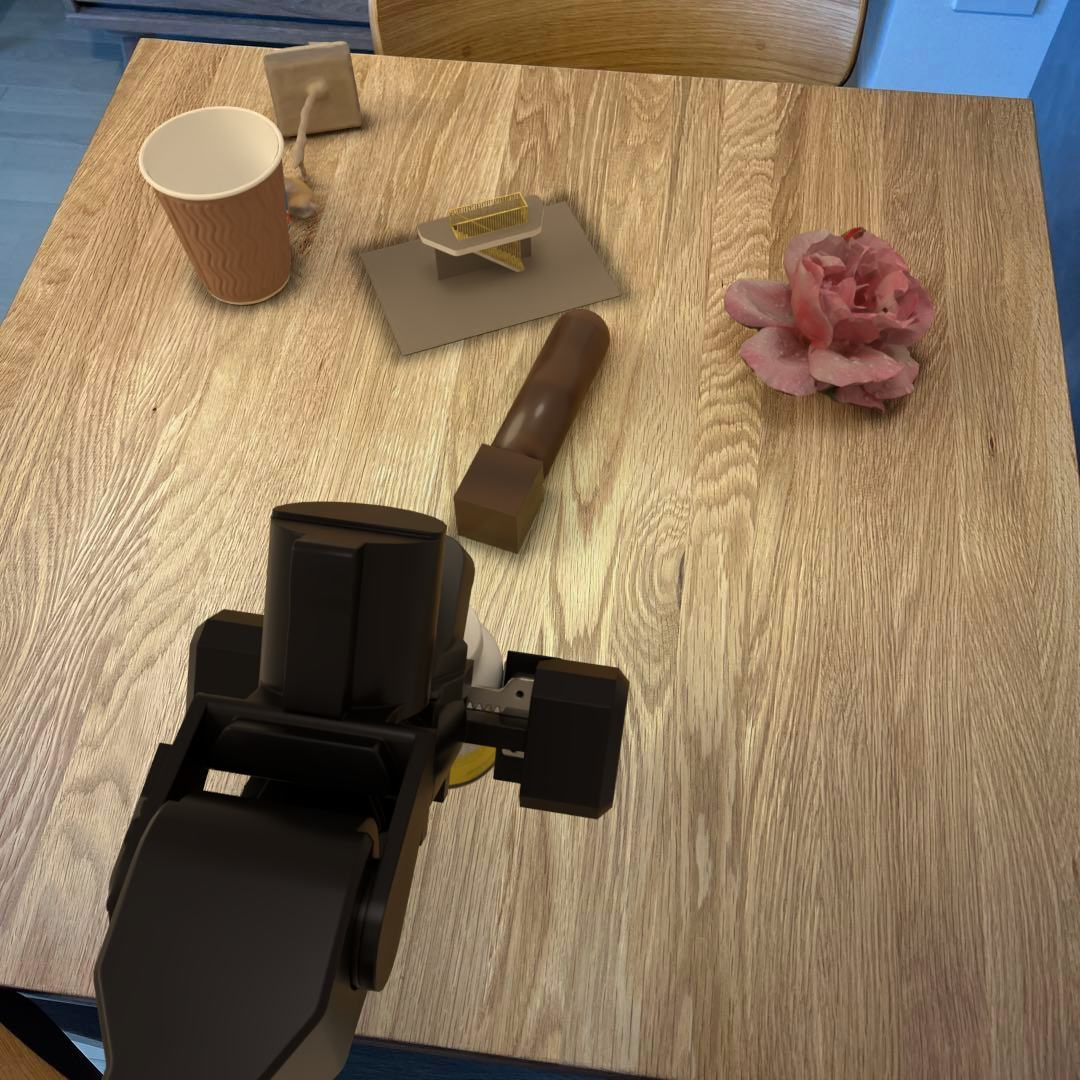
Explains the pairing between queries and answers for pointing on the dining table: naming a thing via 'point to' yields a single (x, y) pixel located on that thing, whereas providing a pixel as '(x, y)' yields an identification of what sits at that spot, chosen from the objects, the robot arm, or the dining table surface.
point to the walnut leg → (531, 435)
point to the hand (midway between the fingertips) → (445, 658)
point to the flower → (835, 320)
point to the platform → (486, 272)
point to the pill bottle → (488, 673)
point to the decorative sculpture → (311, 104)
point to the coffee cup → (224, 198)
